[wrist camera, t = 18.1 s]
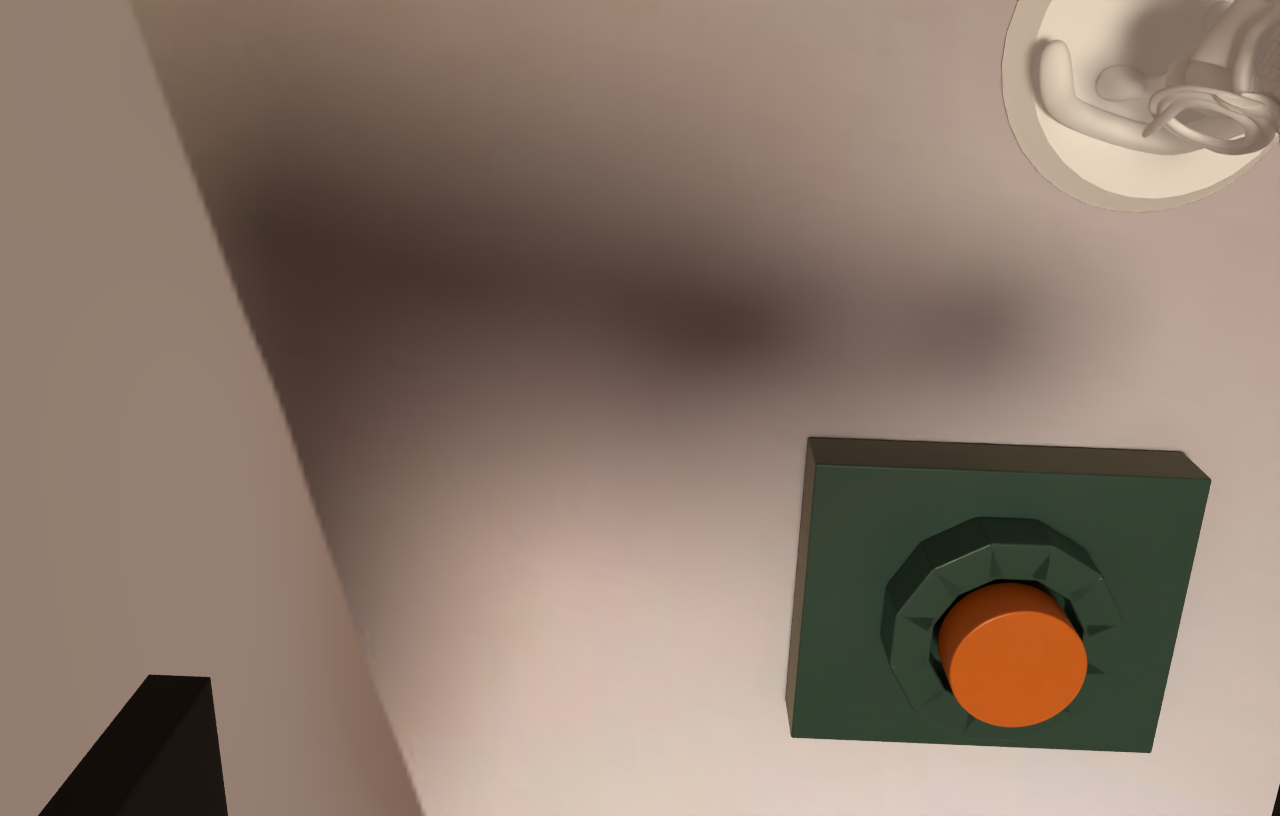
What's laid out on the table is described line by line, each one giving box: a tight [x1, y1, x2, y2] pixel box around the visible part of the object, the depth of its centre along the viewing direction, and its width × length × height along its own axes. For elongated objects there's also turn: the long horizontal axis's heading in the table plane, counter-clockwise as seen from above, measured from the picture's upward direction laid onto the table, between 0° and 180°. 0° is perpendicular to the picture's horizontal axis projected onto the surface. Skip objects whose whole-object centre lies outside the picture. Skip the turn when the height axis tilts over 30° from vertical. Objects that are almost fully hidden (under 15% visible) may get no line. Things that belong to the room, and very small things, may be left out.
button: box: [938, 583, 1087, 727], centre depth 35 cm, size 4×4×2 cm
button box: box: [785, 438, 1211, 753], centre depth 37 cm, size 12×10×4 cm
